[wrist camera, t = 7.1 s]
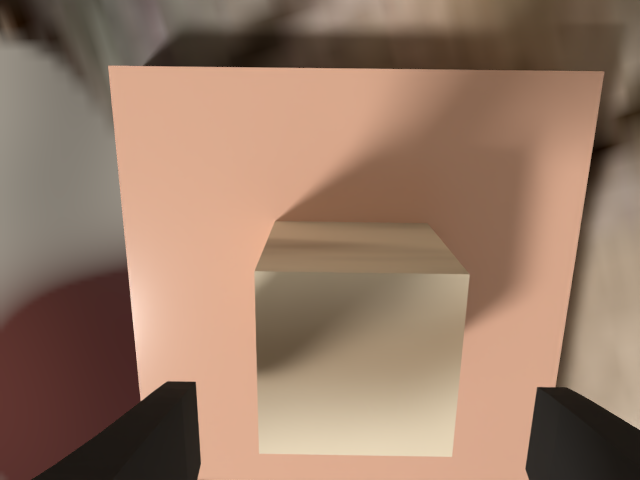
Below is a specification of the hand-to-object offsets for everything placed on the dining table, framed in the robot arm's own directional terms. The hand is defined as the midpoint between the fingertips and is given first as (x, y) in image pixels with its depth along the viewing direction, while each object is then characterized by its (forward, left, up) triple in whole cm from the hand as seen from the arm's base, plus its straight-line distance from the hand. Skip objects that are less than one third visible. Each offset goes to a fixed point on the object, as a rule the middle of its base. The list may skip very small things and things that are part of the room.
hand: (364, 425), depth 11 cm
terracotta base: (0, 0, -9) cm, 9 cm away
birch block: (0, 0, -7) cm, 7 cm away
